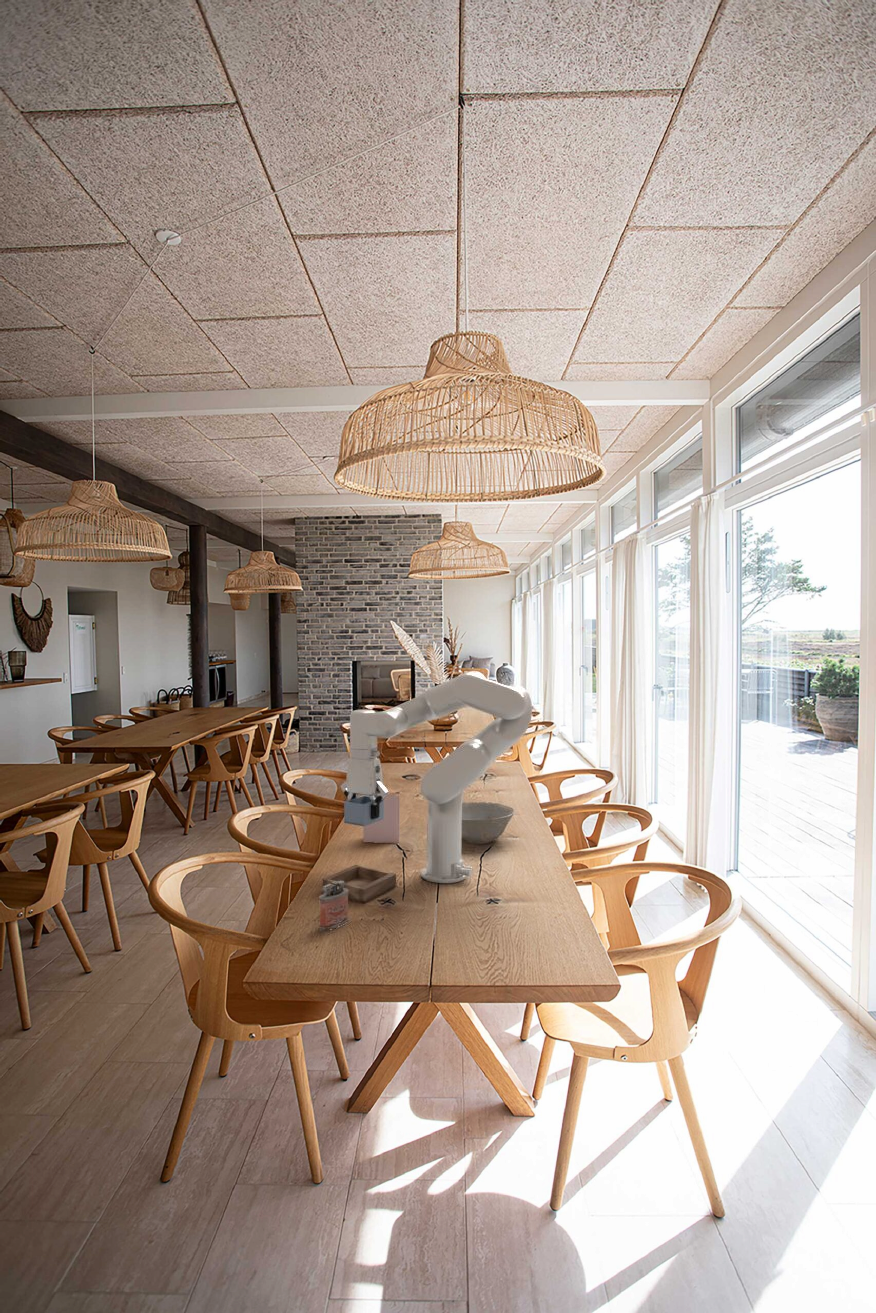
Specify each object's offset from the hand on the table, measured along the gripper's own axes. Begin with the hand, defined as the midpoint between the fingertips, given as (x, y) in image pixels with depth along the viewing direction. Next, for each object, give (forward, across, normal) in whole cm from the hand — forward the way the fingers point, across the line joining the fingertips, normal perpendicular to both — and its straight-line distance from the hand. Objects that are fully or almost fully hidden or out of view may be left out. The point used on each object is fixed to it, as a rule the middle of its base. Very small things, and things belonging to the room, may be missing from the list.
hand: (364, 815), depth 202 cm
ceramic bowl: (+16, -14, -43) cm, 48 cm away
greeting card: (+16, +12, -24) cm, 31 cm away
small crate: (+1, 0, 0) cm, 1 cm away
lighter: (+16, -18, +34) cm, 41 cm away
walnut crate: (+15, -9, +13) cm, 22 cm away
